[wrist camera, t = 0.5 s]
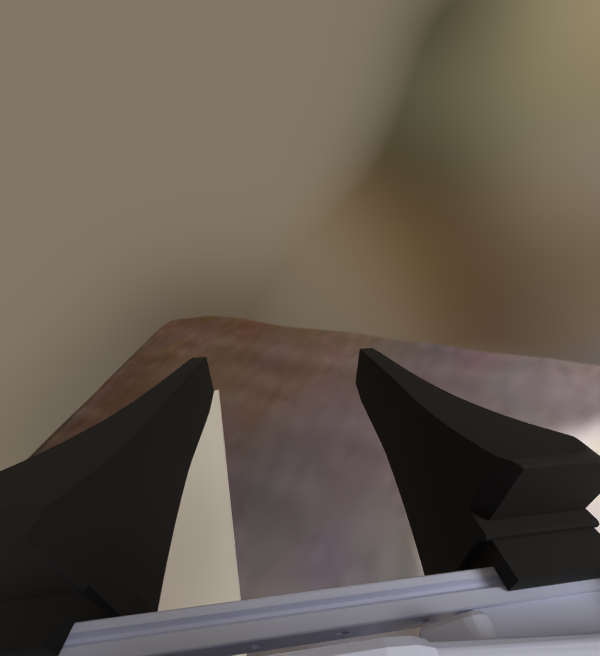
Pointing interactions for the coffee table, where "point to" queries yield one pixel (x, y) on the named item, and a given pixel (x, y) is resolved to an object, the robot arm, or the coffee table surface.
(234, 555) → the mat
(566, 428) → the coffee table surface
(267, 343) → the coffee table surface
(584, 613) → the robot arm
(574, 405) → the coffee table surface
